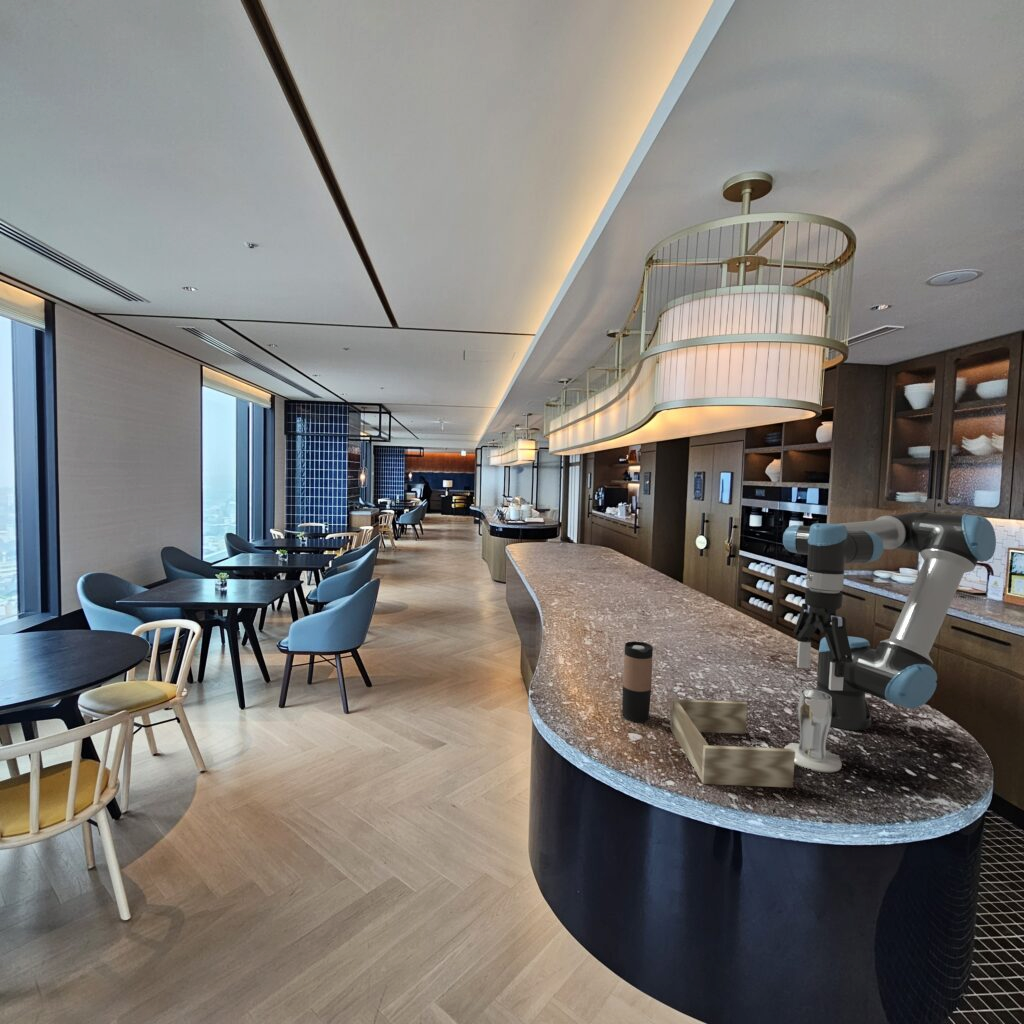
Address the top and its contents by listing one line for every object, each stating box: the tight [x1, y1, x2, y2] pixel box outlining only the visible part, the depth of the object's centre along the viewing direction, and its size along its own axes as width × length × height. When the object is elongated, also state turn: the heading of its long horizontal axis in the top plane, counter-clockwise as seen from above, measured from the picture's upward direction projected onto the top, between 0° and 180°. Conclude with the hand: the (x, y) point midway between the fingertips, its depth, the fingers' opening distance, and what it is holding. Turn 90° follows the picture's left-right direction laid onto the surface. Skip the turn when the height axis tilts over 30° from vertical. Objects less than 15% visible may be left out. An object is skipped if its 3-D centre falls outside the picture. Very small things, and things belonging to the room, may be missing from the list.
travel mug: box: [621, 641, 654, 723], centre depth 145 cm, size 8×8×20 cm
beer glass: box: [797, 688, 832, 762], centre depth 126 cm, size 7×7×15 cm
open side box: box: [669, 698, 795, 788], centre depth 126 cm, size 19×25×8 cm
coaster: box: [784, 743, 843, 774], centre depth 126 cm, size 12×12×1 cm
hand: (818, 678), depth 125 cm, fingers open, 13 cm apart
